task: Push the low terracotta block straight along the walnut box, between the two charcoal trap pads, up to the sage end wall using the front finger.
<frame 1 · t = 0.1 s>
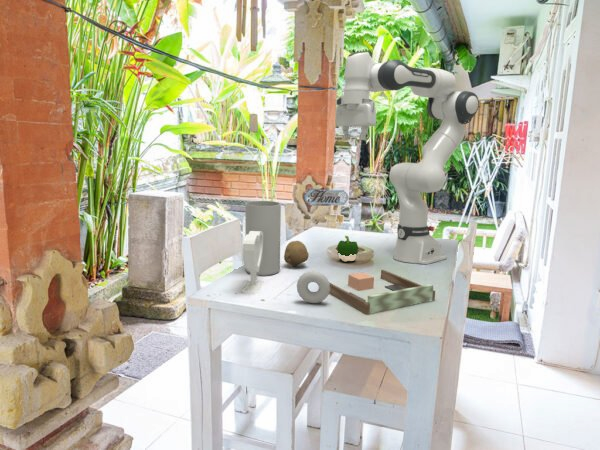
hand: (354, 139, 166), 48 cm above the table, tool pointing down, fingers open, 8 cm apart
donut: (312, 303, 138), on the table
terracotta block: (360, 287, 153), on the table
cylinder vase: (262, 271, 169), on the table
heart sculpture: (253, 287, 151), on the table
bell pepper: (347, 261, 184), on the table
natural sponge: (296, 267, 175), on the table
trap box: (375, 294, 147), on the table
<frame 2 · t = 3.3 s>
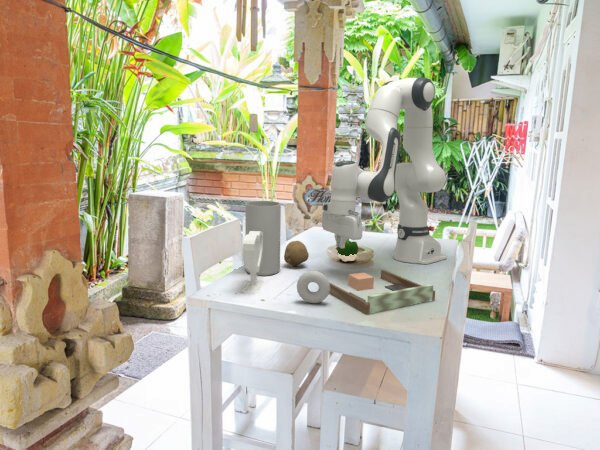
hand: (340, 247, 161), 11 cm above the table, tool pointing down, fingers closed
nothing on the table moved.
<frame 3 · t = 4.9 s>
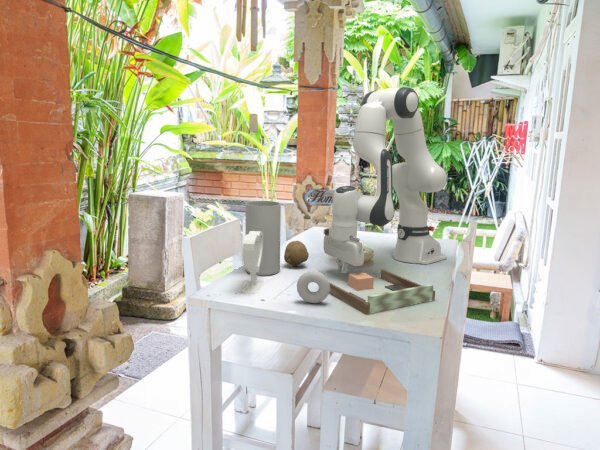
hand: (342, 271, 162), 2 cm above the table, tool pointing down, fingers closed
nothing on the table moved.
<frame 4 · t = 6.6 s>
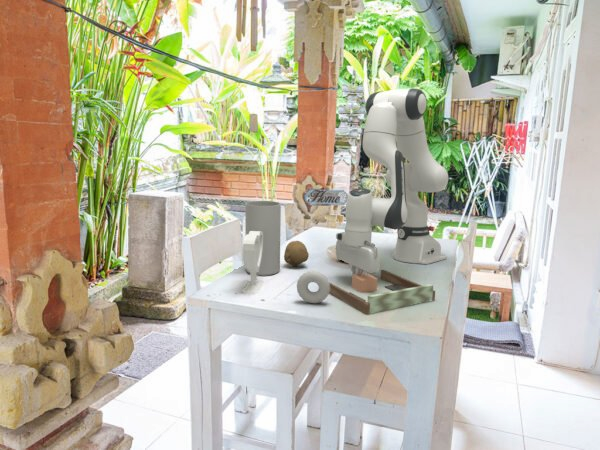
hand: (355, 278, 155), 2 cm above the table, tool pointing down, fingers closed
terracotta block: (364, 288, 152), on the table, touching gripper
everything else where it was.
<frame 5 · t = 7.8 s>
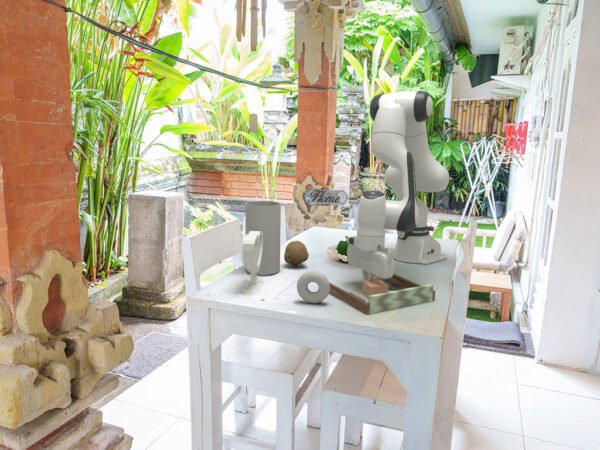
hand: (368, 284, 149), 2 cm above the table, tool pointing down, fingers closed
terracotta block: (374, 295, 145), on the table, touching gripper
everything else where it was.
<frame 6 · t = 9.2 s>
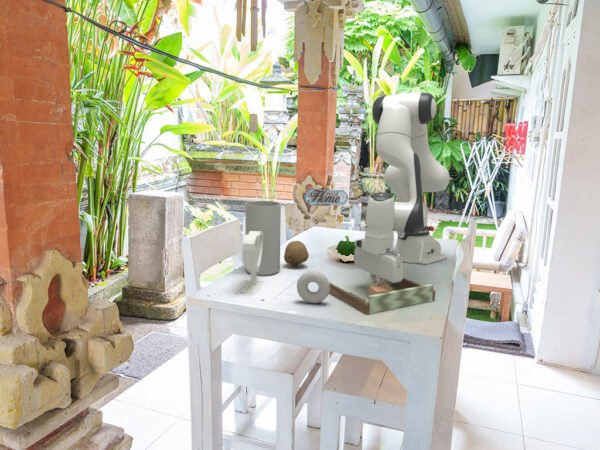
hand: (376, 287, 146), 2 cm above the table, tool pointing down, fingers closed
terracotta block: (381, 300, 142), on the table, touching gripper
everything else where it was.
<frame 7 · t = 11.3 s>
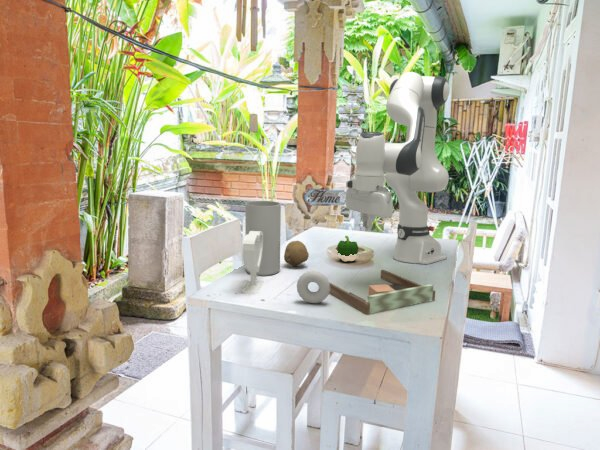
hand: (367, 227, 148), 20 cm above the table, tool pointing down, fingers closed
terracotta block: (381, 300, 142), on the table
everything else where it was.
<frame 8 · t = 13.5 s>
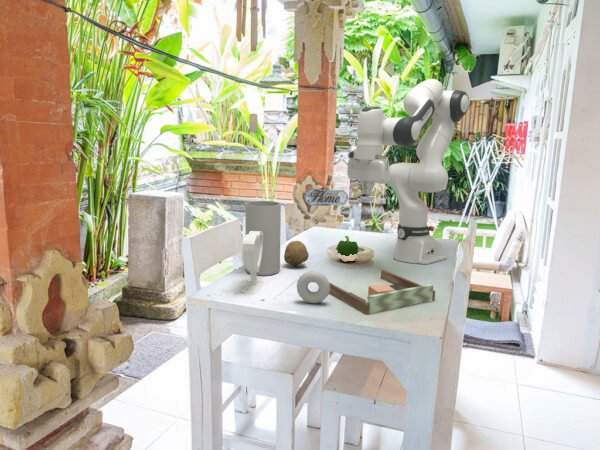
hand: (367, 194, 163), 29 cm above the table, tool pointing down, fingers closed
nothing on the table moved.
at the end: terracotta block inside the target area (1.9 cm from its centre), on the table; terracotta block moved 12.9 cm from its start; terracotta block tilted 0° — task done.
